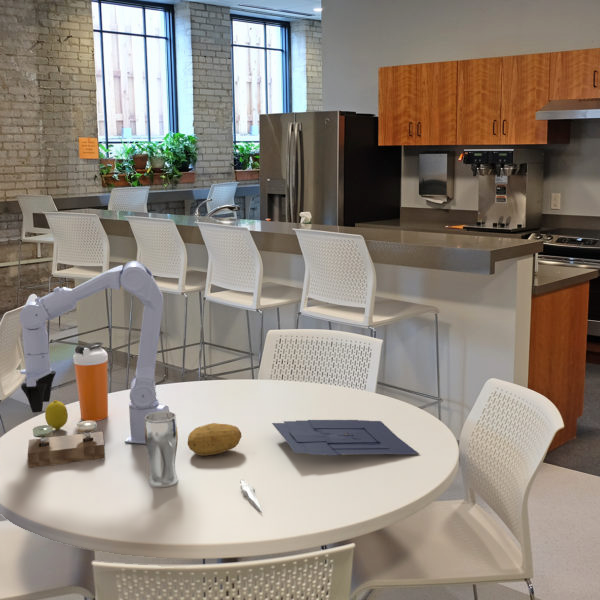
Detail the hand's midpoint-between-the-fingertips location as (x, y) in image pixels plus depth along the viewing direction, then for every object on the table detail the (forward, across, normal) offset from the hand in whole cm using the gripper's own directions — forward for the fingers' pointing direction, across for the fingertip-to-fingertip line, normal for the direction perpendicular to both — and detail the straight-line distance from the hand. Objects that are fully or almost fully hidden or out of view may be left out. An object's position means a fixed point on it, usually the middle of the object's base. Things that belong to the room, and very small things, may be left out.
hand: (41, 406), depth 196 cm
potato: (+11, +8, +42) cm, 44 cm away
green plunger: (+7, +8, +2) cm, 11 cm away
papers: (+11, +6, +72) cm, 74 cm away
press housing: (+10, +7, +7) cm, 14 cm away
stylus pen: (+11, +34, +50) cm, 62 cm away
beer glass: (+10, +24, +31) cm, 41 cm away
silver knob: (+7, +6, +12) cm, 15 cm away
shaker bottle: (+10, -21, +8) cm, 25 cm away
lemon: (+10, -12, +1) cm, 16 cm away
